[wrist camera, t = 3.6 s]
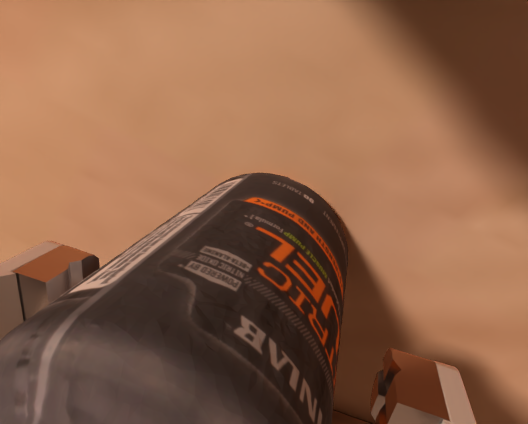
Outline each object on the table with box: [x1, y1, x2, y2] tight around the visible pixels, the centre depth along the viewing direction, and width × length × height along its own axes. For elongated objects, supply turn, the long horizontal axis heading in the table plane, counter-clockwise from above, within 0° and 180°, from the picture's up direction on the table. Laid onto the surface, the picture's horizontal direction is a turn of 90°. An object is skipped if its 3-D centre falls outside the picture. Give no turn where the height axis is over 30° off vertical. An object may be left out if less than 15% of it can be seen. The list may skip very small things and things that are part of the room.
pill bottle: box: [0, 173, 348, 424], centre depth 8 cm, size 6×6×11 cm
